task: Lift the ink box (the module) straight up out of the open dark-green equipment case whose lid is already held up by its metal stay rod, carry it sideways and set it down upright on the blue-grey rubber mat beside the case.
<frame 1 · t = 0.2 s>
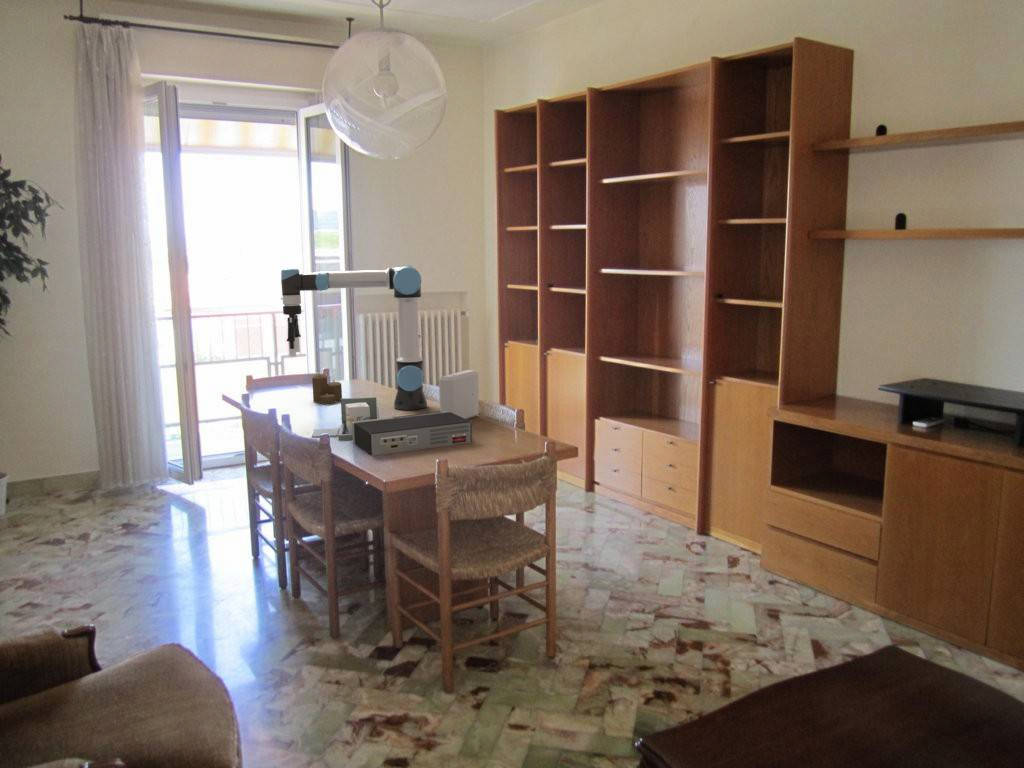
hand: (294, 354, 360), 28 cm above the table, fingers open, 13 cm apart
case: (358, 433, 334), on the table
ink box: (358, 433, 334), resting in case
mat: (325, 433, 334), on the table
brown stepped block: (326, 401, 400), on the table
white upright slab: (458, 420, 357), on the table
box: (411, 443, 319), on the table
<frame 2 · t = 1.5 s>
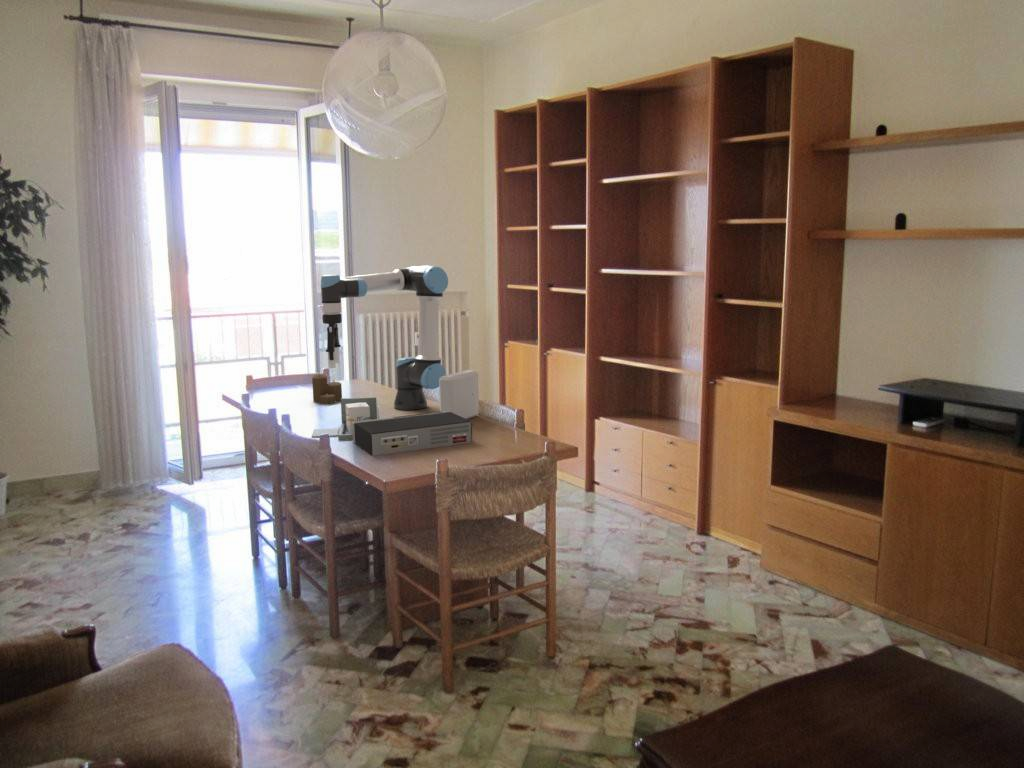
hand: (334, 365, 339), 26 cm above the table, fingers open, 13 cm apart
nothing on the table moved.
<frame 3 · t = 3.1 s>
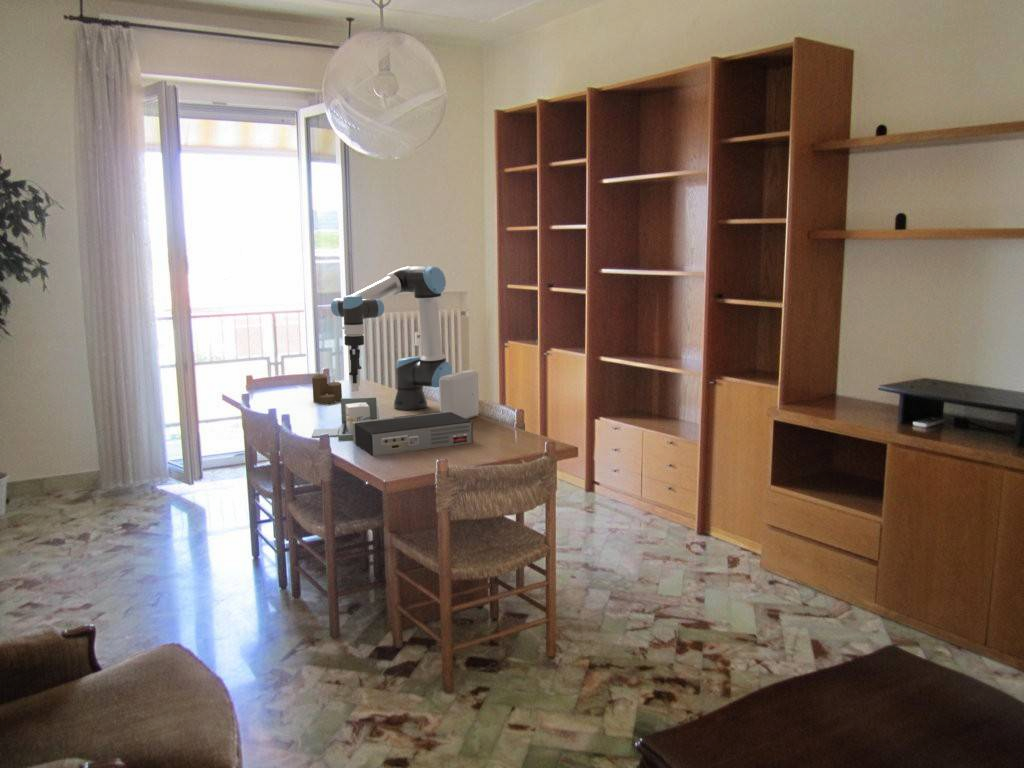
hand: (356, 388, 331), 18 cm above the table, fingers open, 13 cm apart
nothing on the table moved.
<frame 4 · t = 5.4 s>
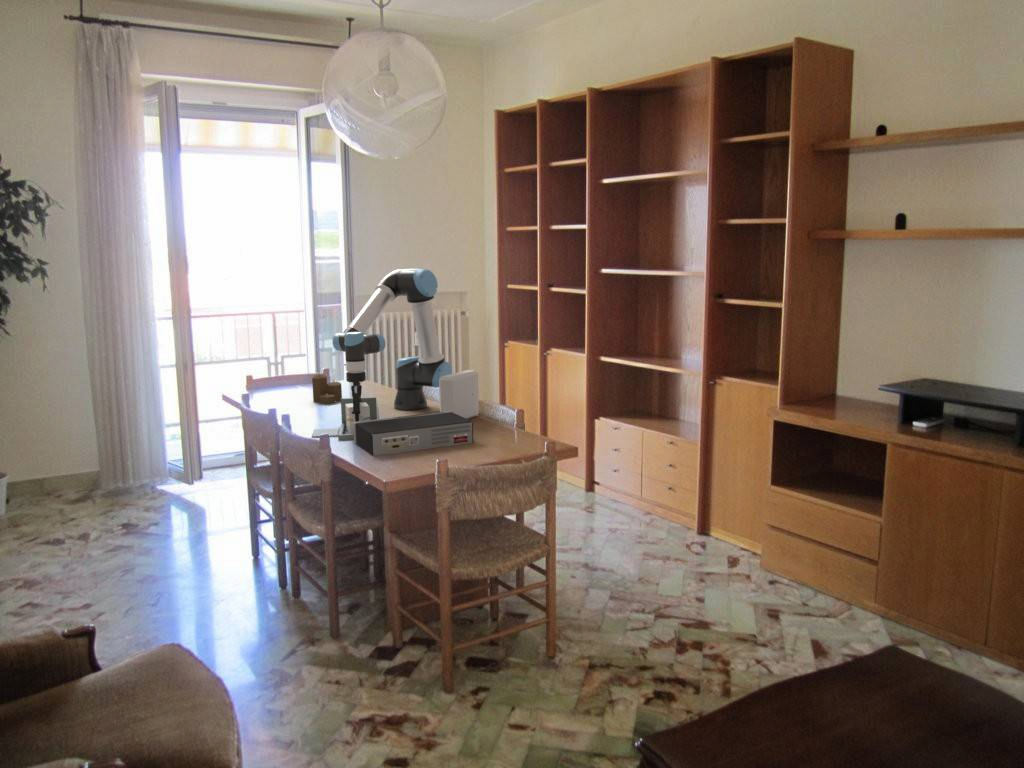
hand: (358, 426, 334), 3 cm above the table, fingers closed on ink box, 9 cm apart
ink box: (358, 433, 334), resting in case, touching gripper
everything else where it was.
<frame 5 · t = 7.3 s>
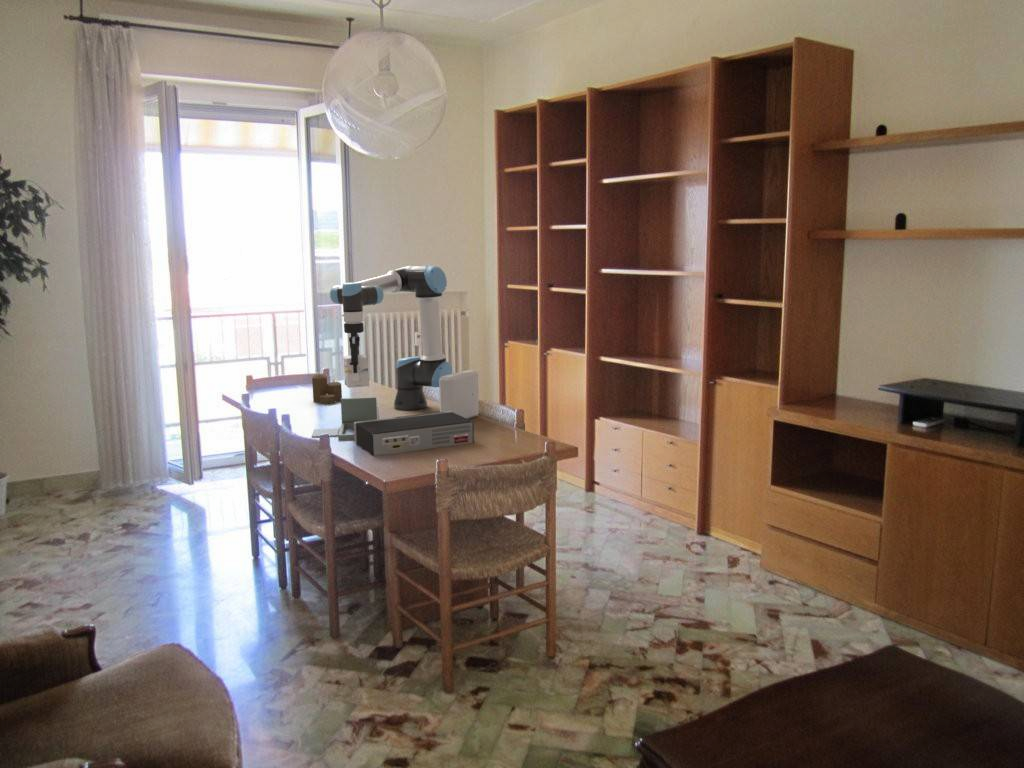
hand: (356, 378, 330), 22 cm above the table, fingers closed on ink box, 9 cm apart
ink box: (356, 385, 331), point 19 cm above the table, touching gripper
everything else where it was.
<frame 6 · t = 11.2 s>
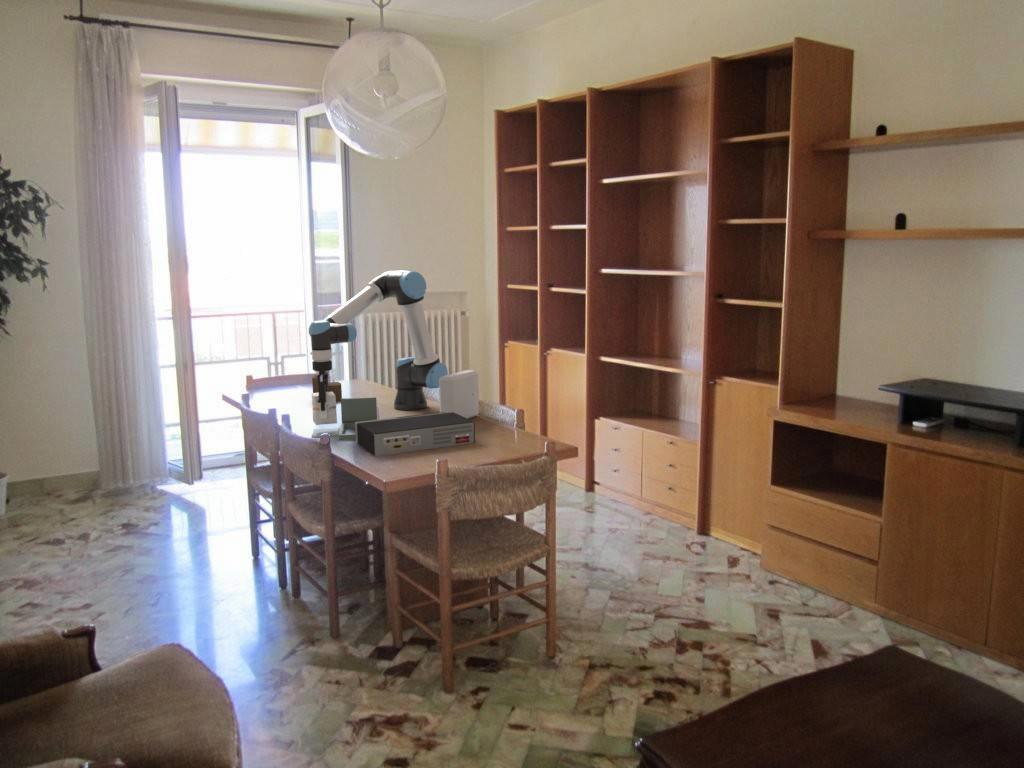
hand: (324, 415, 332), 7 cm above the table, fingers closed on ink box, 9 cm apart
ink box: (324, 422, 333), point 4 cm above the table, touching gripper
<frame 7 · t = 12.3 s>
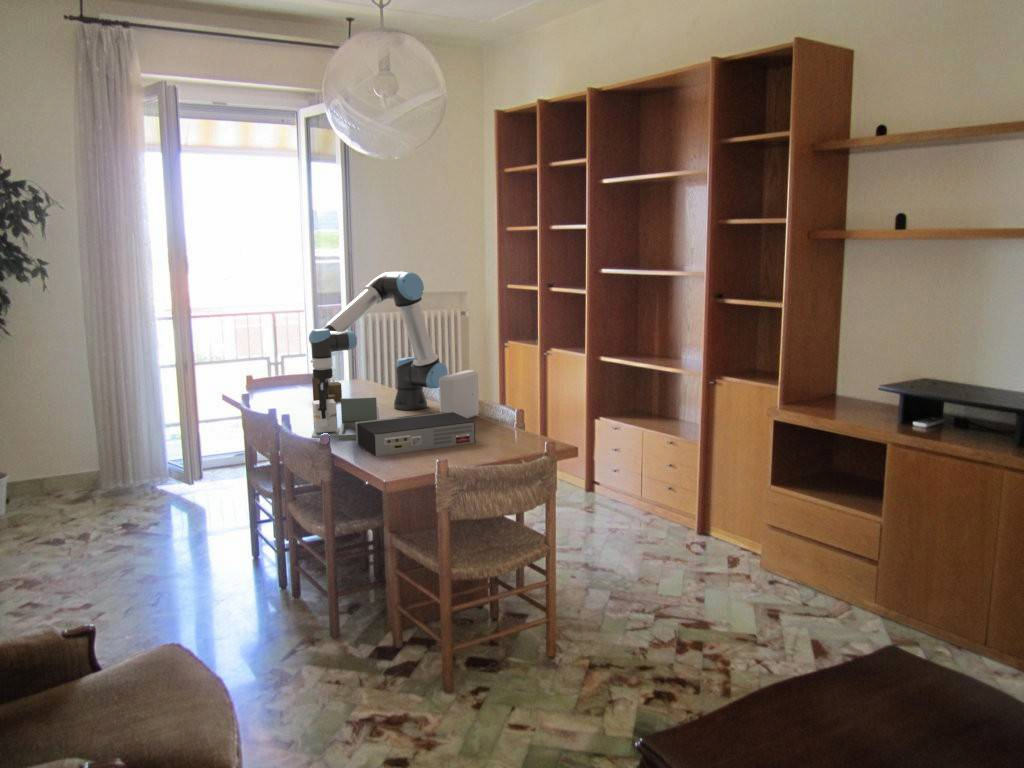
hand: (325, 423, 333), 4 cm above the table, fingers closed on ink box, 9 cm apart
ink box: (325, 430, 334), point 1 cm above the table, touching gripper
when the fingers open (4 cm above the table, at t = 12.9 s): ink box stays where it is, resting on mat.
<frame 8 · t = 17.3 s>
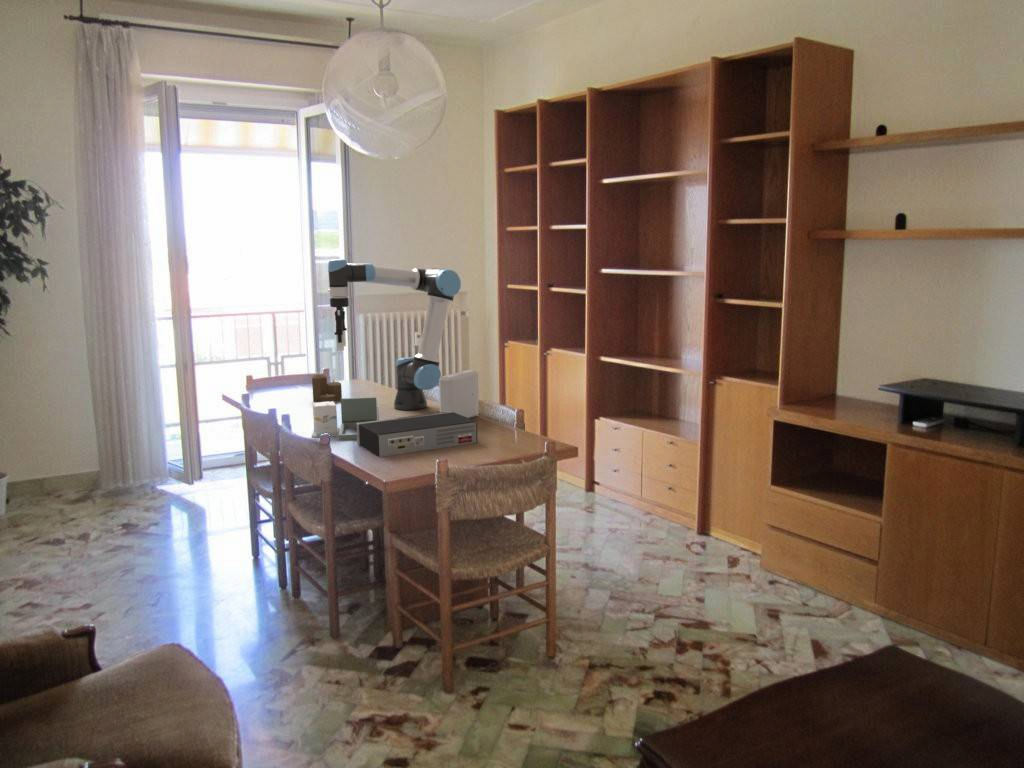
hand: (341, 348, 348), 32 cm above the table, fingers open, 13 cm apart
ink box: (325, 432, 334), resting on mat
at the end: ink box inside the target area on the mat (0.0 cm from its centre), point 0.4 cm above the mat's base; ink box tilted 0°; the gripper is holding nothing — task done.
